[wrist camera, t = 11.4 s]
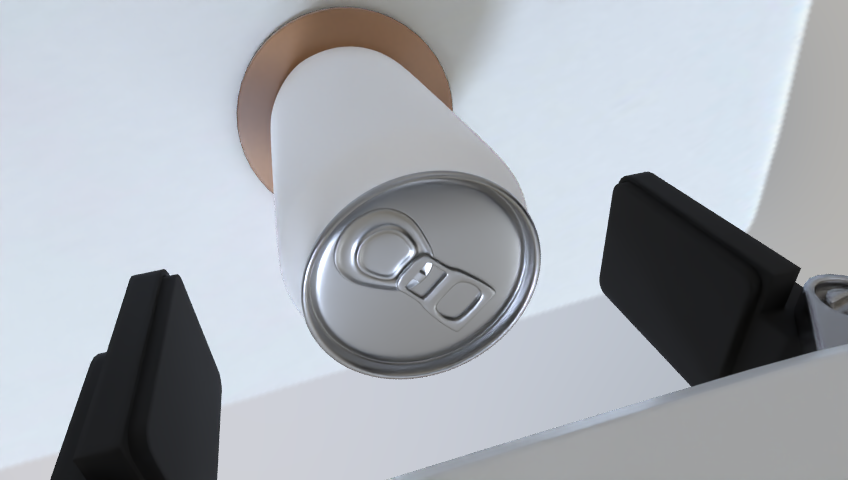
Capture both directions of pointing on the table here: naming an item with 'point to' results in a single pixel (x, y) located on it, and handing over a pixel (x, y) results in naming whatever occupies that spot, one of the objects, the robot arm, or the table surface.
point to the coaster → (313, 38)
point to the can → (394, 219)
